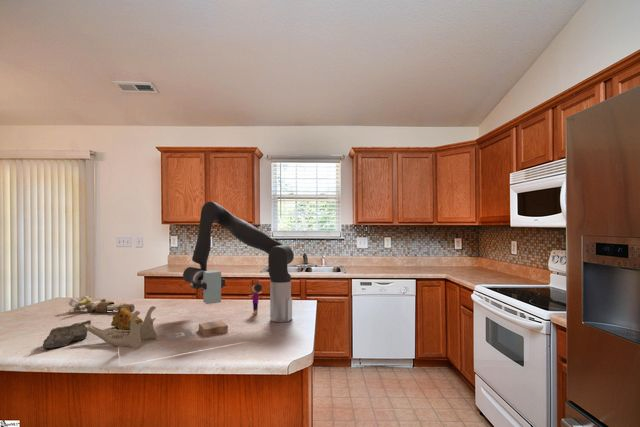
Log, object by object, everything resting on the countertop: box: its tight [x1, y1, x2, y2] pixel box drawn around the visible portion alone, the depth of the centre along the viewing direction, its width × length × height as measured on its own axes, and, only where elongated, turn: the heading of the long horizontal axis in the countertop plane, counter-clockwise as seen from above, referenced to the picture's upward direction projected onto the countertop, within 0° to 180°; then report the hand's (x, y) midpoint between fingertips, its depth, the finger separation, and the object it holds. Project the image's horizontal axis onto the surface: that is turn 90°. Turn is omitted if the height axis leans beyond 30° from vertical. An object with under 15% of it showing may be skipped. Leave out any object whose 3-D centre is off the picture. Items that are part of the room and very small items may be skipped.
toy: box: [248, 281, 263, 315], centre depth 159 cm, size 10×6×15 cm, turn 154°
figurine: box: [68, 295, 135, 314], centre depth 164 cm, size 24×7×30 cm
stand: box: [198, 319, 229, 337], centre depth 132 cm, size 9×9×3 cm
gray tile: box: [165, 329, 195, 341], centre depth 128 cm, size 9×9×1 cm
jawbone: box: [84, 305, 158, 349], centre depth 120 cm, size 25×10×14 cm, turn 82°
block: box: [202, 269, 222, 305], centre depth 132 cm, size 6×6×12 cm
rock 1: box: [42, 319, 92, 349], centre depth 121 cm, size 17×7×10 cm
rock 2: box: [110, 308, 144, 330], centre depth 138 cm, size 11×8×10 cm
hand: (214, 286), depth 130 cm, fingers closed on block, 5 cm apart
